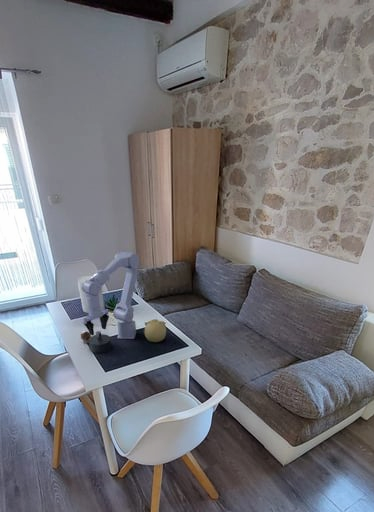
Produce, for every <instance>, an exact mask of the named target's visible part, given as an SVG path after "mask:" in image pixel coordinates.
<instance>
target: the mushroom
mask: <svg viewBox="0 0 374 512" xmlns="http://www.w3.org/2000/svg"><path fill="white" fill-rule="evenodd" d="M90 337H92V335H91V334H90V333H89V331H87V330H85V331H82V333H81V334H80V339H81V341H82V342H83V344H89V342H88V339H89V338H90Z"/></svg>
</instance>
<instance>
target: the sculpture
mask: <svg viewBox="0 0 374 512" xmlns="http://www.w3.org/2000/svg"><path fill="white" fill-rule="evenodd" d="M166 324H167V323H166V322H165V321H164V320H159V319H157V318H154V319H152V320H147V321H145V322H144V325H145V326H144V336H145V338H146V340H147V341H148V342H152V343H159V342H162V341H163V340H164V339H165V338H166V334H167V327H166Z"/></svg>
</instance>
